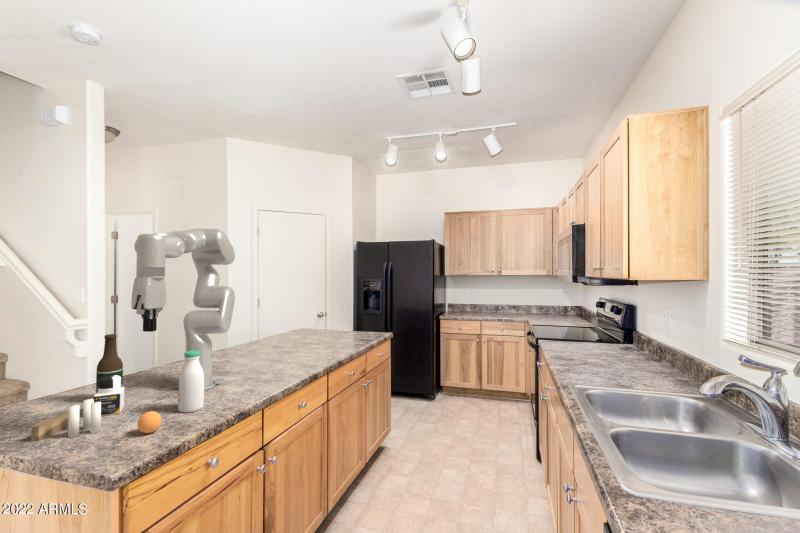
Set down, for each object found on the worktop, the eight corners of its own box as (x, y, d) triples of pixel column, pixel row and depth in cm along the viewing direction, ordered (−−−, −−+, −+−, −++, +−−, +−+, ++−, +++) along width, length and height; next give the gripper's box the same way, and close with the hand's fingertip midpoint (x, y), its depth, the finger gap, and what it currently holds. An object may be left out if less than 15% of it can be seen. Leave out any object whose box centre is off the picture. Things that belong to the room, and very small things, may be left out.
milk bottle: (208, 406, 131) (209, 350, 131) (189, 414, 123) (190, 354, 123) (192, 403, 133) (193, 348, 133) (172, 411, 126) (173, 352, 126)
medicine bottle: (92, 417, 120) (93, 380, 120) (98, 410, 126) (99, 375, 126) (119, 414, 123) (120, 378, 123) (124, 406, 129) (124, 372, 130)
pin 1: (79, 432, 109) (80, 404, 109) (77, 436, 107) (78, 406, 107) (69, 434, 107) (69, 405, 107) (67, 438, 105) (67, 408, 105)
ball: (162, 426, 114) (162, 406, 114) (161, 433, 109) (161, 413, 109) (138, 430, 111) (138, 410, 111) (136, 438, 106) (136, 417, 106)
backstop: (75, 423, 115) (76, 410, 115) (38, 440, 103) (39, 426, 103) (69, 423, 115) (69, 410, 115) (31, 440, 103) (31, 426, 103)
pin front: (101, 429, 111) (101, 401, 111) (99, 432, 109) (100, 403, 109) (91, 431, 110) (91, 402, 110) (89, 434, 108) (89, 405, 108)
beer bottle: (107, 403, 132) (109, 336, 132) (90, 402, 133) (91, 335, 134) (127, 396, 140) (129, 333, 140) (110, 395, 141) (112, 332, 141)
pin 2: (93, 425, 114) (94, 398, 114) (92, 428, 112) (92, 400, 112) (83, 427, 112) (84, 399, 112) (81, 430, 110) (82, 401, 110)
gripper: (154, 272, 124) (153, 327, 124) (121, 273, 109) (119, 335, 109) (176, 273, 124) (175, 327, 124) (146, 273, 109) (145, 335, 109)
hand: (149, 331), depth 116 cm, fingers closed
